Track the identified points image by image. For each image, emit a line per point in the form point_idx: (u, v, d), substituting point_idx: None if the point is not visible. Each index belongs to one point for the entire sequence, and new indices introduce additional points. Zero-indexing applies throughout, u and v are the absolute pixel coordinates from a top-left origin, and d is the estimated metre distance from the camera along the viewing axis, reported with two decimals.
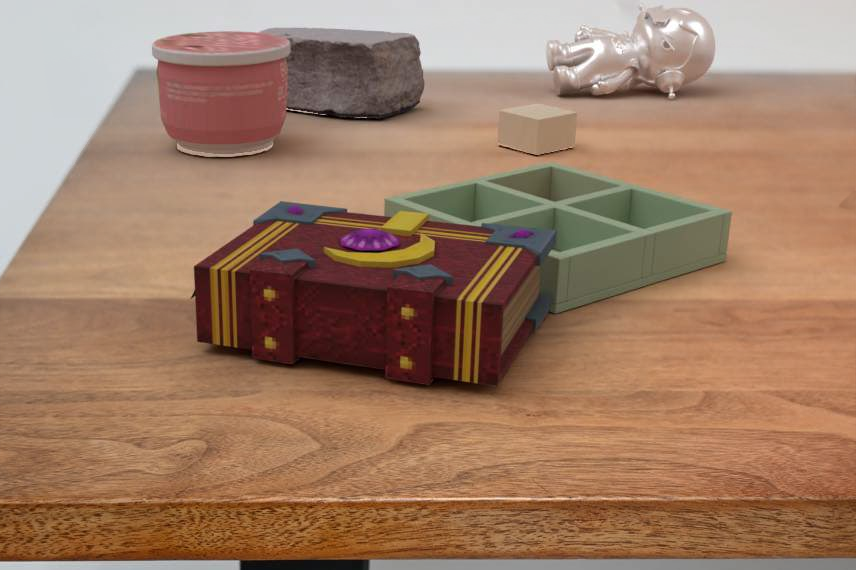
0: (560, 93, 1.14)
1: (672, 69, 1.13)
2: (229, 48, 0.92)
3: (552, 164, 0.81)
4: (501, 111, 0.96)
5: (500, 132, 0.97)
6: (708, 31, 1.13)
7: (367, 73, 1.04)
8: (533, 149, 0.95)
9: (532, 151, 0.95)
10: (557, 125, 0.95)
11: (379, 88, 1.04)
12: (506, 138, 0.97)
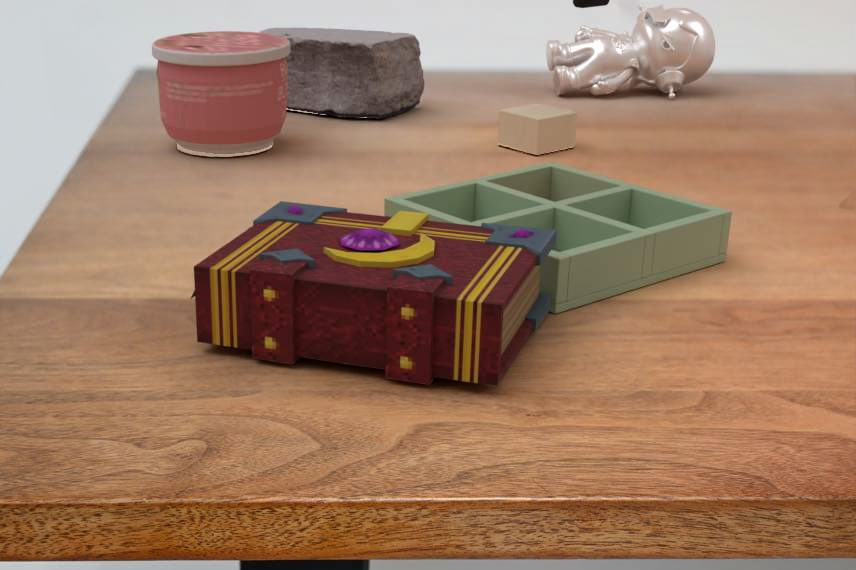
0: (560, 93, 1.14)
1: (672, 69, 1.13)
2: (229, 48, 0.92)
3: (552, 164, 0.81)
4: (501, 111, 0.96)
5: (500, 132, 0.97)
6: (708, 31, 1.13)
7: (367, 73, 1.04)
8: (533, 149, 0.95)
9: (532, 151, 0.95)
10: (557, 125, 0.95)
11: (379, 88, 1.04)
12: (506, 138, 0.97)
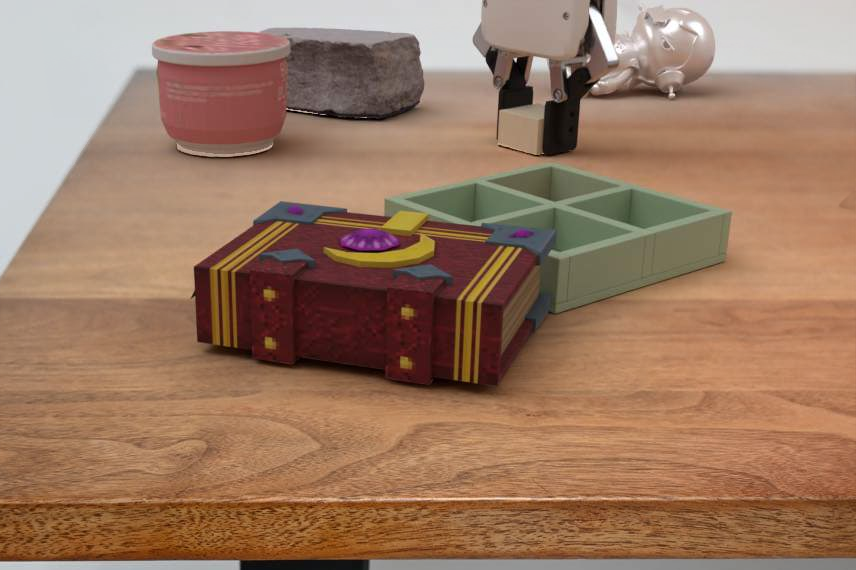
0: None
1: (672, 69, 1.13)
2: (229, 48, 0.92)
3: (552, 164, 0.81)
4: (501, 111, 0.96)
5: (500, 132, 0.97)
6: (708, 31, 1.13)
7: (367, 73, 1.04)
8: (533, 149, 0.95)
9: (532, 151, 0.95)
10: None
11: (379, 88, 1.04)
12: (506, 138, 0.97)
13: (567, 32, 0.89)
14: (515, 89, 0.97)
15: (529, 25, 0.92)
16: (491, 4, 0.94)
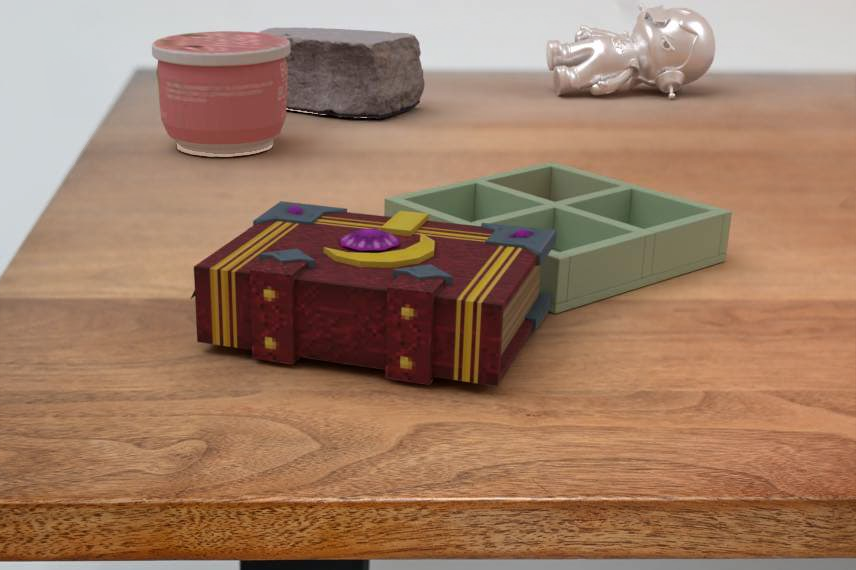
0: (560, 93, 1.14)
1: (672, 69, 1.13)
2: (229, 48, 0.92)
3: (552, 164, 0.81)
4: None
5: None
6: (708, 31, 1.13)
7: (367, 73, 1.04)
8: None
9: None
10: None
11: (379, 88, 1.04)
12: None
13: None
14: None
15: None
16: None
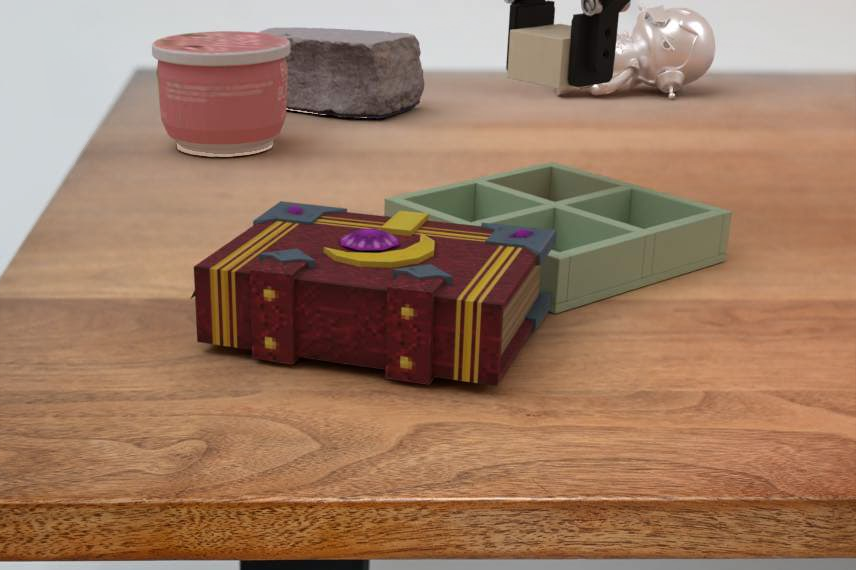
0: (560, 93, 1.14)
1: (672, 69, 1.13)
2: (229, 48, 0.92)
3: (552, 164, 0.81)
4: (512, 30, 0.73)
5: (510, 60, 0.74)
6: (708, 31, 1.13)
7: (367, 73, 1.04)
8: (554, 80, 0.71)
9: (554, 82, 0.71)
10: None
11: (379, 88, 1.04)
12: (519, 67, 0.73)
13: None
14: (532, 3, 0.74)
15: None
16: None
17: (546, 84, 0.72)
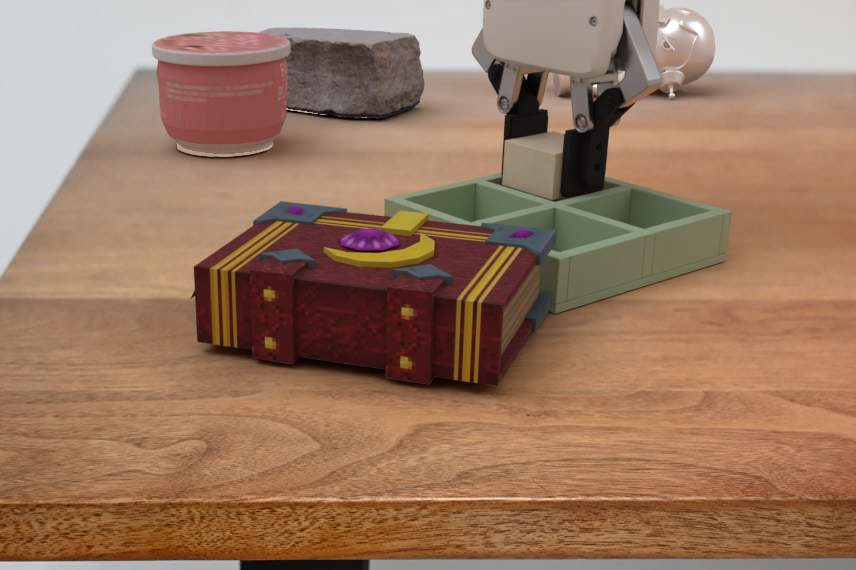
0: (560, 93, 1.14)
1: (672, 69, 1.13)
2: (229, 48, 0.92)
3: None
4: (507, 141, 0.76)
5: (505, 169, 0.76)
6: (708, 31, 1.13)
7: (367, 73, 1.04)
8: (547, 191, 0.74)
9: (547, 194, 0.74)
10: None
11: (379, 88, 1.04)
12: (513, 176, 0.76)
13: (595, 42, 0.69)
14: (526, 113, 0.77)
15: (545, 33, 0.71)
16: (496, 5, 0.74)
17: (539, 194, 0.75)
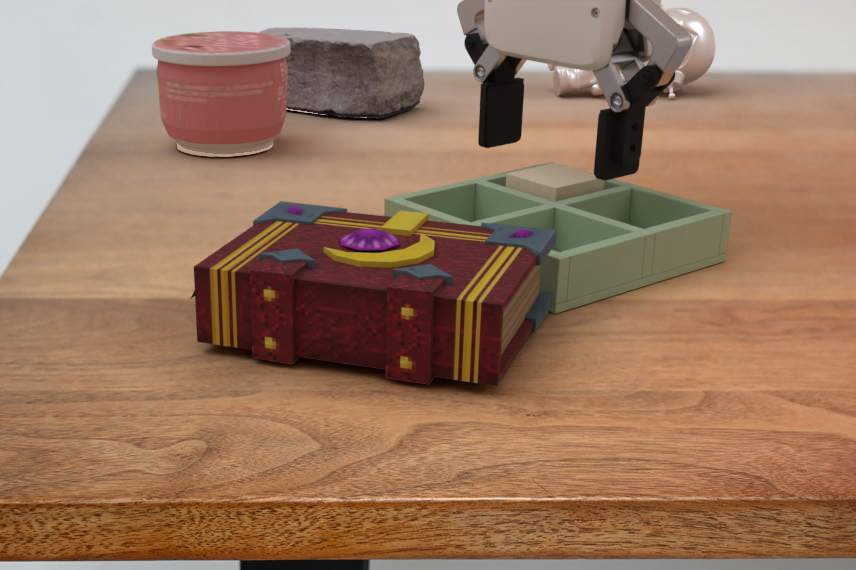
0: (560, 93, 1.14)
1: None
2: (229, 48, 0.92)
3: None
4: (508, 174, 0.77)
5: None
6: (708, 31, 1.13)
7: (367, 73, 1.04)
8: None
9: None
10: (579, 193, 0.75)
11: (379, 88, 1.04)
12: None
13: (597, 34, 0.68)
14: (502, 82, 0.78)
15: (546, 25, 0.71)
16: None
17: None
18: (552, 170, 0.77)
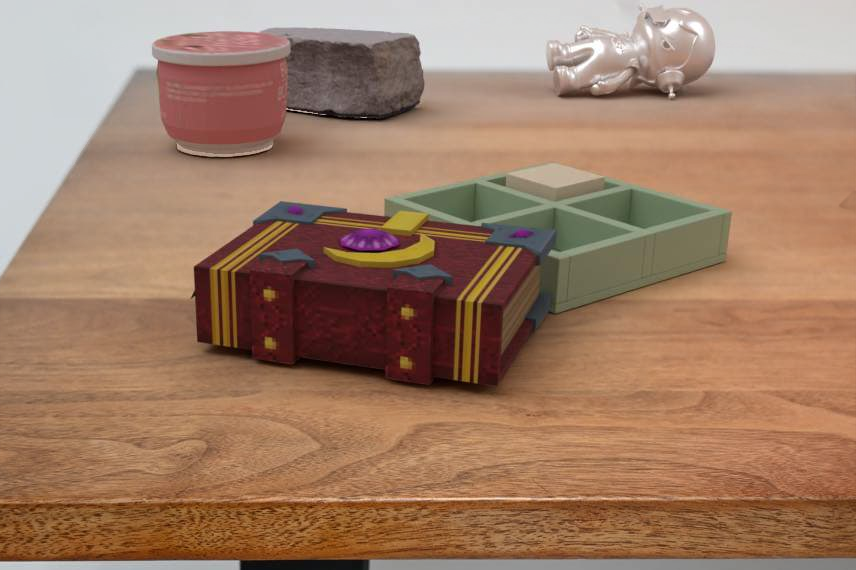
0: (560, 93, 1.14)
1: (672, 69, 1.13)
2: (229, 48, 0.92)
3: None
4: (508, 174, 0.77)
5: None
6: (708, 31, 1.13)
7: (367, 73, 1.04)
8: None
9: None
10: (579, 193, 0.75)
11: (379, 88, 1.04)
12: None
13: None
14: None
15: None
16: None
17: None
18: (552, 170, 0.77)
